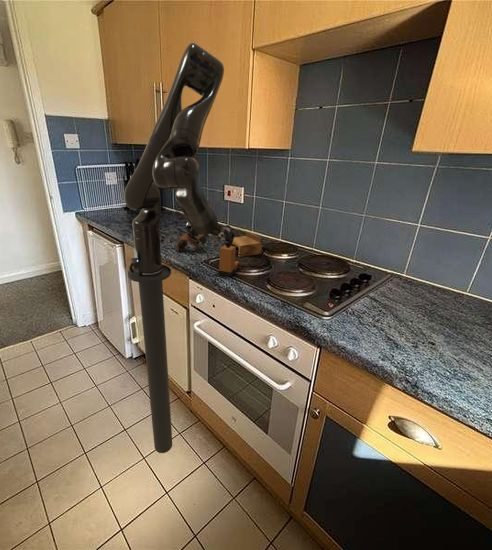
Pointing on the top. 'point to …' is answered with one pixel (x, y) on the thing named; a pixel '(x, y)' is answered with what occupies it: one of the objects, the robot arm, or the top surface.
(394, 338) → the top surface
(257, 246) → the tan wooden block
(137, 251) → the robot arm
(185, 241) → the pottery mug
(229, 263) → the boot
